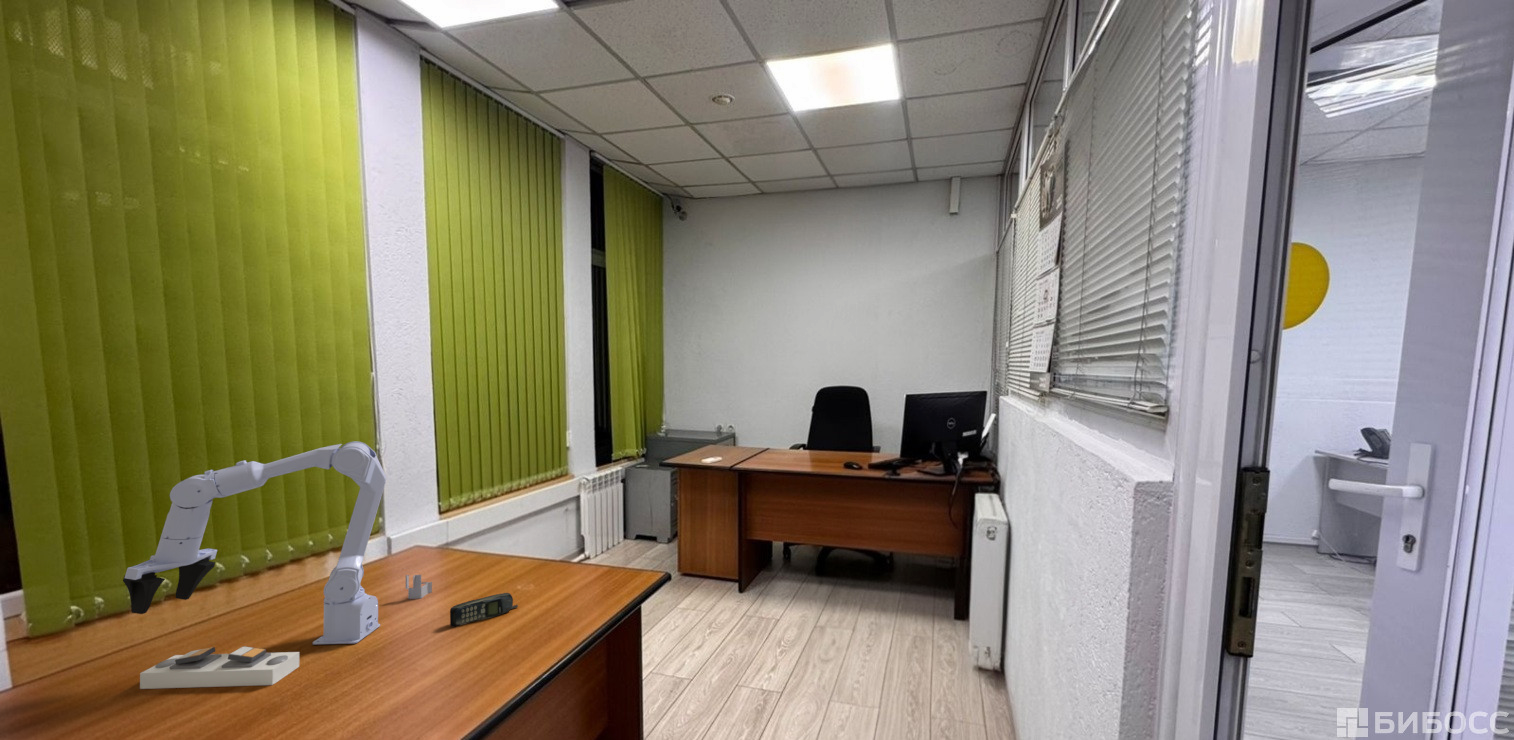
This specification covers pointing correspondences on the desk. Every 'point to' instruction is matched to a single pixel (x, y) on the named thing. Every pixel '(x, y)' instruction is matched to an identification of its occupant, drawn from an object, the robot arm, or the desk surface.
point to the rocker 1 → (195, 655)
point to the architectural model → (418, 587)
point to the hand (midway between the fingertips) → (161, 605)
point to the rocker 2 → (246, 654)
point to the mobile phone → (481, 609)
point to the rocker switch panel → (219, 671)
